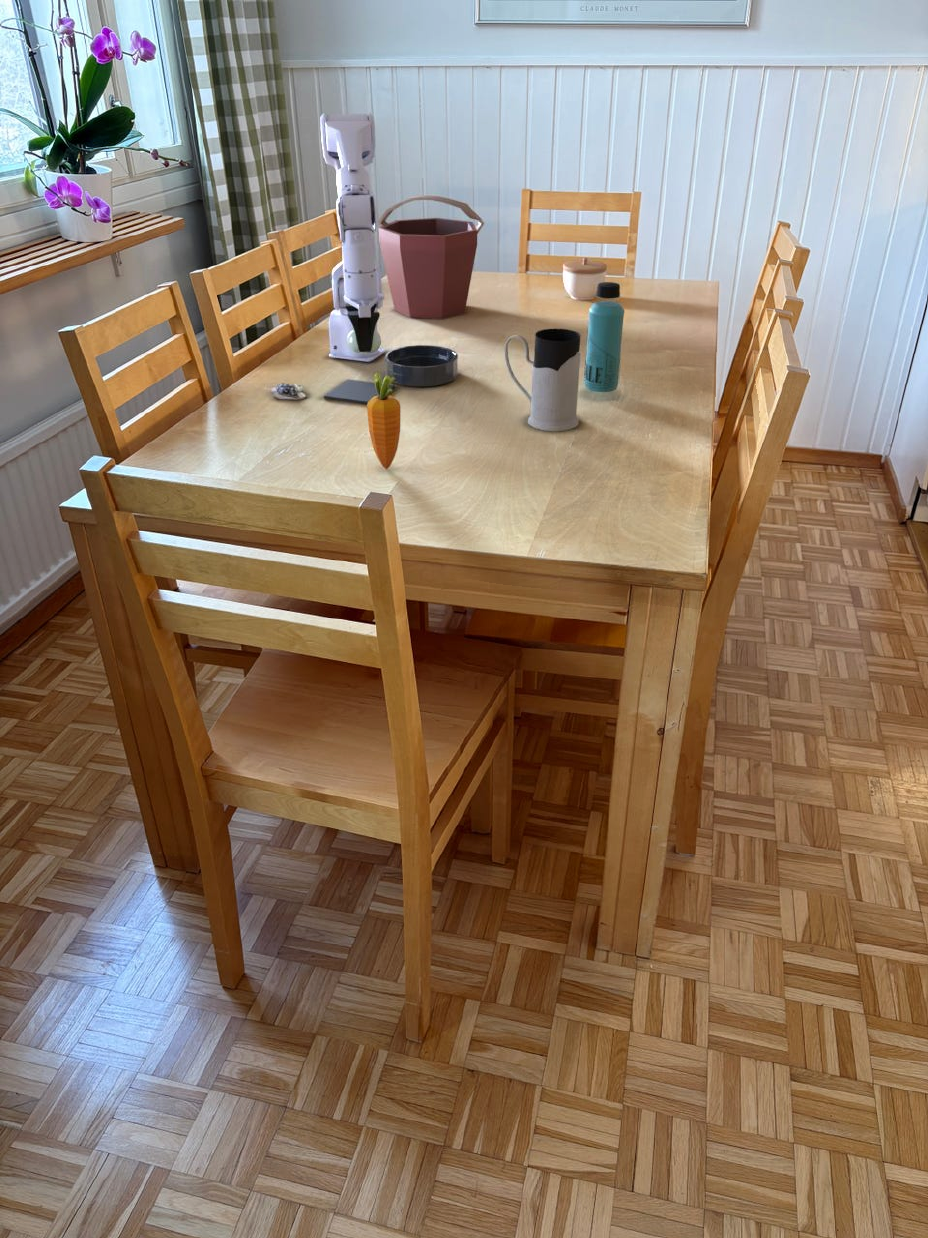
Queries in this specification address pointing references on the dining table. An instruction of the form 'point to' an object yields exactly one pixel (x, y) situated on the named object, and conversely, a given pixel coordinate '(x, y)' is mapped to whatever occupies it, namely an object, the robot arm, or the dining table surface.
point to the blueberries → (288, 391)
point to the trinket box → (583, 278)
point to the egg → (354, 347)
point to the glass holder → (552, 378)
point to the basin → (421, 365)
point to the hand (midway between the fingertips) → (364, 347)
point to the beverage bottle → (604, 340)
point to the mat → (355, 391)
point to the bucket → (429, 261)
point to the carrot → (384, 421)
